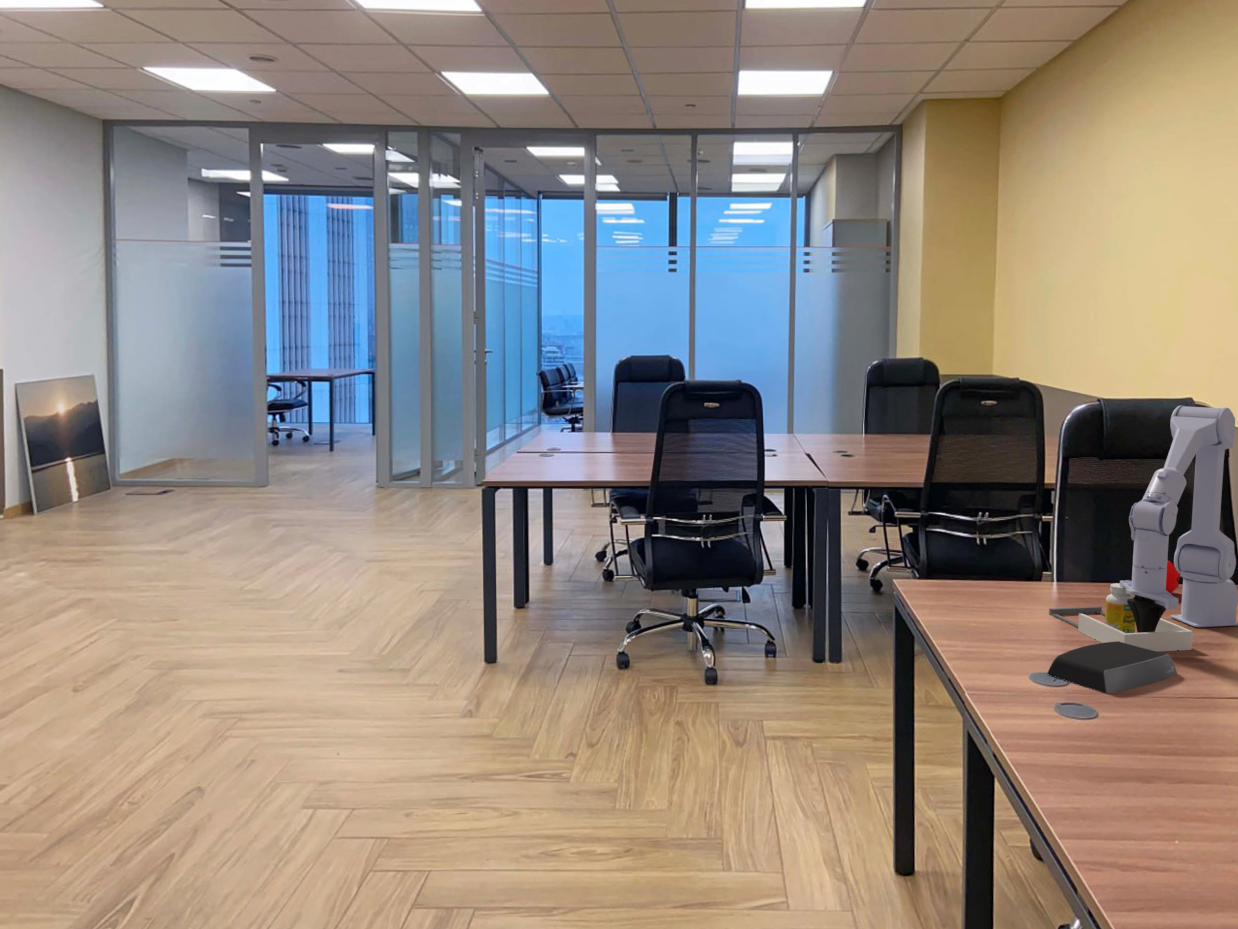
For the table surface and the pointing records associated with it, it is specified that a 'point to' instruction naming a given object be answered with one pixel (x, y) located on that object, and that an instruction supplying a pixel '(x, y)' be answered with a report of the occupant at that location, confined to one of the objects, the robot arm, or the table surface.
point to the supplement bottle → (1119, 610)
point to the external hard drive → (1112, 666)
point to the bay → (1139, 635)
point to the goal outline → (1074, 612)
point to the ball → (1171, 577)
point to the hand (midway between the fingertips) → (1145, 637)
